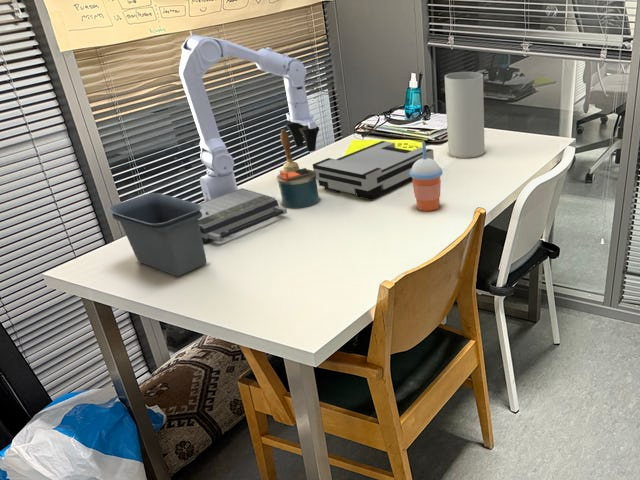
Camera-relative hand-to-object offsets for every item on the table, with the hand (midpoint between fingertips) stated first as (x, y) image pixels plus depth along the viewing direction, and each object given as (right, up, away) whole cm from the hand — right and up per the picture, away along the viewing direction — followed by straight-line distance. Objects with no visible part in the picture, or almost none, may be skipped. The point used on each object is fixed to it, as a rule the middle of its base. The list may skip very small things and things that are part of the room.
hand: (305, 148), depth 201 cm
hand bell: (-5, -9, +6) cm, 12 cm away
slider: (0, -13, -15) cm, 20 cm away
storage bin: (-21, -41, -41) cm, 62 cm away
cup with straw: (+39, -22, -16) cm, 47 cm away
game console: (+22, -9, +4) cm, 24 cm away
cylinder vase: (+49, +6, +25) cm, 55 cm away
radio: (-15, -28, -22) cm, 39 cm away
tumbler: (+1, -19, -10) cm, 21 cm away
